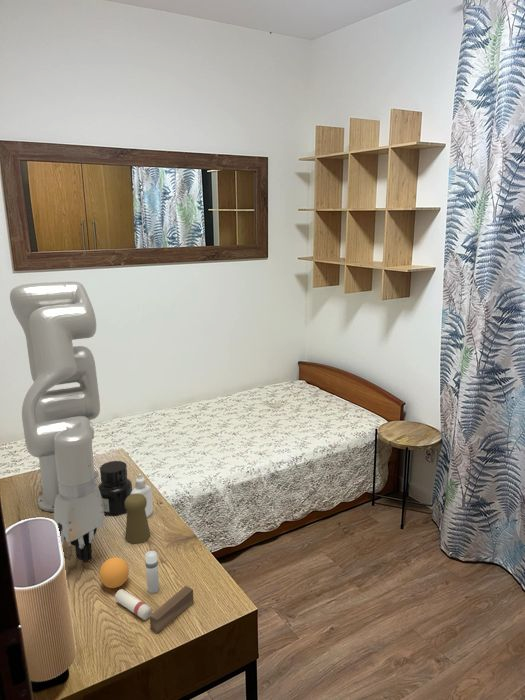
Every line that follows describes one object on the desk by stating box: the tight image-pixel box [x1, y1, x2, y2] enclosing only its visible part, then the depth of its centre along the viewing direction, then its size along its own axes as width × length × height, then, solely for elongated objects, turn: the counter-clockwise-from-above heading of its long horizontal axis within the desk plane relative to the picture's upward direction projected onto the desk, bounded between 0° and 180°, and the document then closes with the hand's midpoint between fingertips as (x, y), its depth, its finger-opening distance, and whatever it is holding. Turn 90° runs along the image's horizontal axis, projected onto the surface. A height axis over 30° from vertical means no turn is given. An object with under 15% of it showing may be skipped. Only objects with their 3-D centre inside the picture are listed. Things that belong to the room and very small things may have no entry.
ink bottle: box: [98, 460, 133, 516], centre depth 139 cm, size 10×9×12 cm
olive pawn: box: [124, 493, 151, 545], centre depth 126 cm, size 6×6×11 cm
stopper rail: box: [149, 585, 195, 634], centre depth 103 cm, size 2×10×3 cm, turn 145°
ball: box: [99, 556, 130, 589], centre depth 111 cm, size 6×6×6 cm
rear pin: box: [144, 550, 160, 594], centre depth 109 cm, size 2×2×8 cm
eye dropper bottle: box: [130, 473, 154, 518], centre depth 135 cm, size 4×6×12 cm
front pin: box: [114, 588, 153, 621], centre depth 104 cm, size 2×2×8 cm
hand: (84, 558), depth 117 cm, fingers closed
